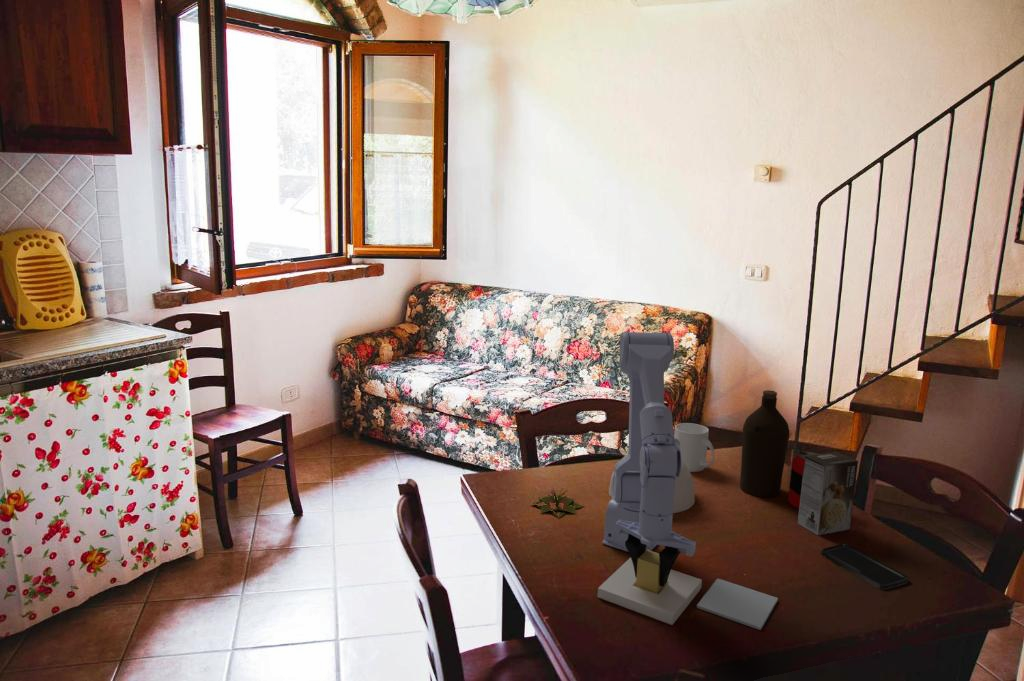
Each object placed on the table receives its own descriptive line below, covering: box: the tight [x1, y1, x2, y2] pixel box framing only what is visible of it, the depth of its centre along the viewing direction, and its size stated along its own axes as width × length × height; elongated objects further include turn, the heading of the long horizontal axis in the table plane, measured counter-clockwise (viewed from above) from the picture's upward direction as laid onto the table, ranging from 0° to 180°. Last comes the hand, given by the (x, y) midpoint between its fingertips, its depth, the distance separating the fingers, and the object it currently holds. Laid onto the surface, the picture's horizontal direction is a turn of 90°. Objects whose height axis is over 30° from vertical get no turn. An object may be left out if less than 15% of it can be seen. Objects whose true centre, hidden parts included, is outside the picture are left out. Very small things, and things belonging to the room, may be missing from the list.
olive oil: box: [739, 389, 790, 498], centre depth 174 cm, size 11×11×25 cm
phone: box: [820, 543, 909, 591], centre depth 141 cm, size 8×1×15 cm
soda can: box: [787, 451, 818, 509], centre depth 168 cm, size 8×8×12 cm
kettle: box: [608, 438, 696, 514], centre depth 169 cm, size 20×21×18 cm
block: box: [636, 550, 665, 594], centre depth 129 cm, size 4×4×7 cm
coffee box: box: [797, 451, 859, 536], centre depth 156 cm, size 9×6×16 cm
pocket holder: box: [597, 557, 703, 626], centre depth 129 cm, size 14×14×2 cm
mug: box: [674, 422, 715, 473], centre depth 188 cm, size 9×12×11 cm
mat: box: [696, 577, 779, 631], centre depth 127 cm, size 11×11×1 cm
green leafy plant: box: [532, 487, 585, 519], centre depth 163 cm, size 12×12×5 cm
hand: (651, 579), depth 129 cm, fingers closed on block, 4 cm apart
